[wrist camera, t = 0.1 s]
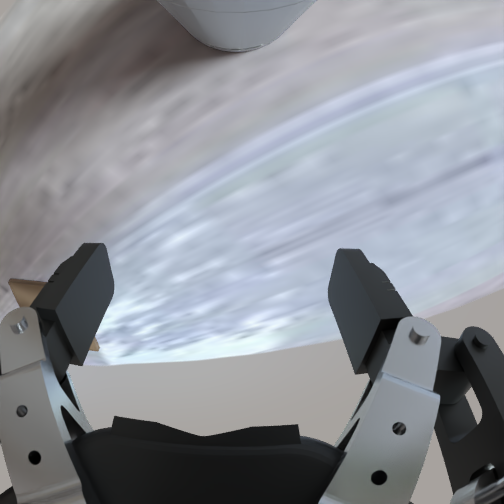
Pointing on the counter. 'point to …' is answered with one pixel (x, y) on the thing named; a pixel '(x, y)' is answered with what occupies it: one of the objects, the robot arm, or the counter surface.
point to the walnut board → (33, 297)
